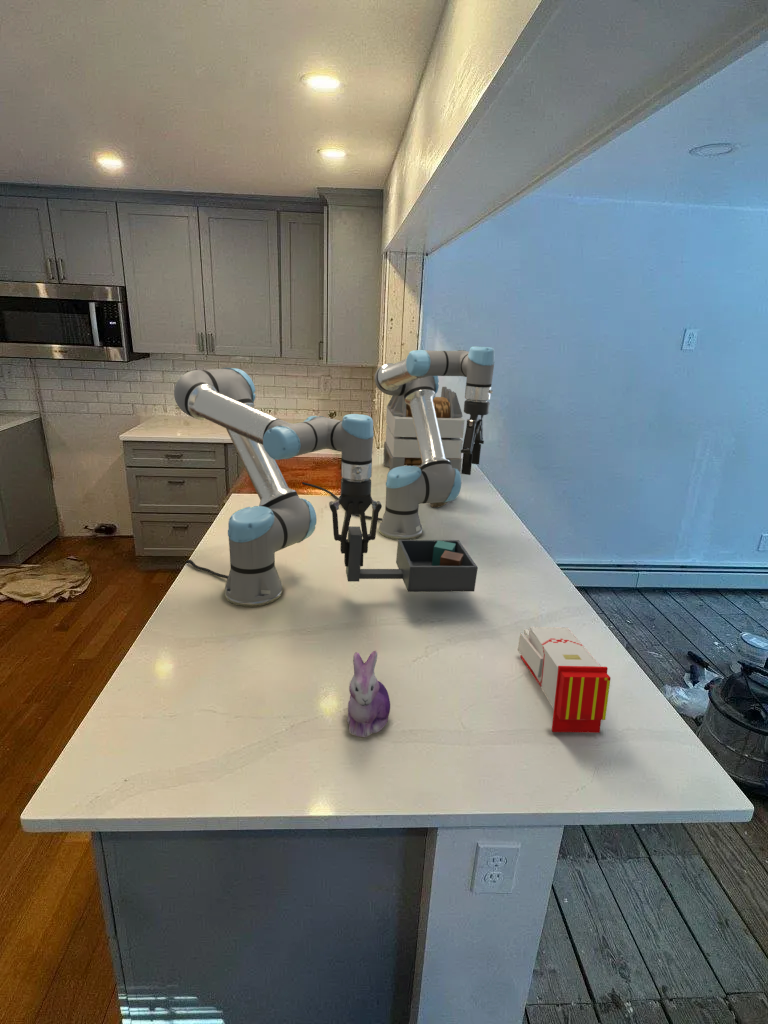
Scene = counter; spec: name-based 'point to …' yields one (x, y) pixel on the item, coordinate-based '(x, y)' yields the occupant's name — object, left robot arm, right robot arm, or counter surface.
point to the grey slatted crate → (403, 436)
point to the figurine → (367, 699)
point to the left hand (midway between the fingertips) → (353, 563)
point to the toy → (566, 678)
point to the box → (415, 566)
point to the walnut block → (451, 559)
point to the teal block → (441, 551)
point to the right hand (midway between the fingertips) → (470, 468)
